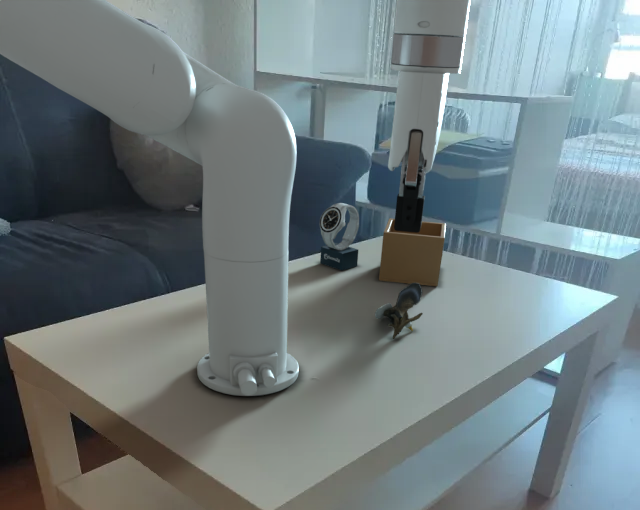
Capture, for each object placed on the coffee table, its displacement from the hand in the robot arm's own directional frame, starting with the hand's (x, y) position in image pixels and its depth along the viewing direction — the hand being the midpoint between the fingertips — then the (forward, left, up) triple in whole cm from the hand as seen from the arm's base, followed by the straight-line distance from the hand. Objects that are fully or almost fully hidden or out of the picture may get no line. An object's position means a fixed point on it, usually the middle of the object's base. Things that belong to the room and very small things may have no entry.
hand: (407, 229), depth 77 cm
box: (+33, -15, -17) cm, 40 cm away
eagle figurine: (+9, -4, -17) cm, 20 cm away
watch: (+40, -3, -17) cm, 43 cm away
